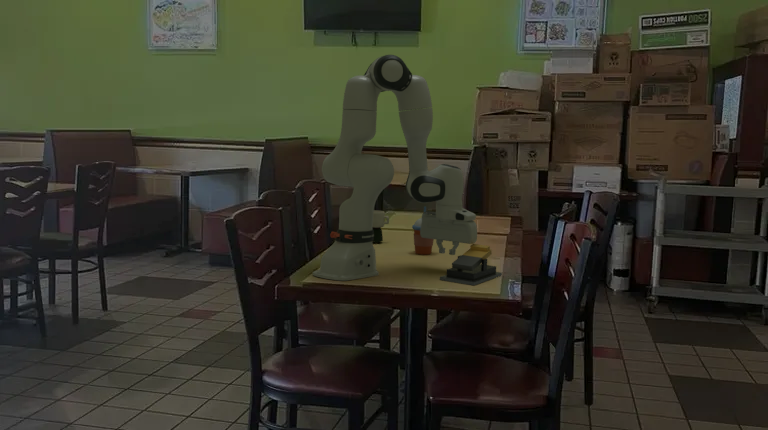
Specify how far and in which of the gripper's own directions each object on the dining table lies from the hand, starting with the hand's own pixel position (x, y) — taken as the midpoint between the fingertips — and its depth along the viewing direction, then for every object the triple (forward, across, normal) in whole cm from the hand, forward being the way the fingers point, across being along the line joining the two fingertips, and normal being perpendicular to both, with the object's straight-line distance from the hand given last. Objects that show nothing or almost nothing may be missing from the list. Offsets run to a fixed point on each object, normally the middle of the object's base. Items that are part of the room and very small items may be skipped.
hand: (447, 253), depth 237 cm
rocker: (0, +12, -5) cm, 13 cm away
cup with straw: (+6, -23, +23) cm, 33 cm away
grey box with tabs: (+6, +12, -5) cm, 14 cm away
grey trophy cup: (+6, -51, +31) cm, 60 cm away
